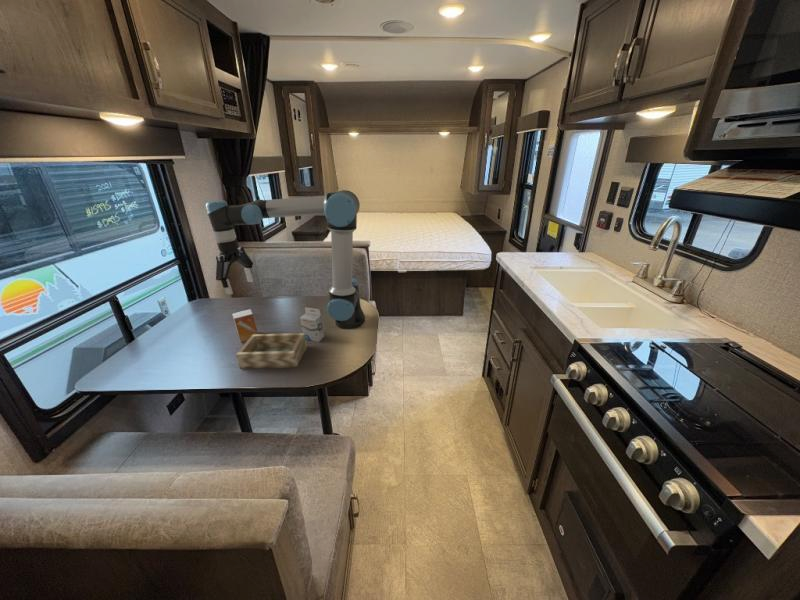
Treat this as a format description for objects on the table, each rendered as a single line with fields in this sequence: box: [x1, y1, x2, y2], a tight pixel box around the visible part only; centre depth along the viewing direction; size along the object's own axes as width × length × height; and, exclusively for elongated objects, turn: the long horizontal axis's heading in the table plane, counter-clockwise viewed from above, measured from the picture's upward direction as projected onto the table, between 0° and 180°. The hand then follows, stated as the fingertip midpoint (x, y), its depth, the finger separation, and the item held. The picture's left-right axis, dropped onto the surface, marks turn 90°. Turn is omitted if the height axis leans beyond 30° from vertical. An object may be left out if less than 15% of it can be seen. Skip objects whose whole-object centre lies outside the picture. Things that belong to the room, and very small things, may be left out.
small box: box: [231, 308, 259, 344], centre depth 144 cm, size 8×6×13 cm
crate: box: [235, 332, 308, 370], centre depth 130 cm, size 23×15×7 cm, turn 90°
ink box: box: [299, 307, 325, 343], centre depth 141 cm, size 9×5×15 cm, turn 71°
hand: (240, 287), depth 135 cm, fingers open, 13 cm apart
